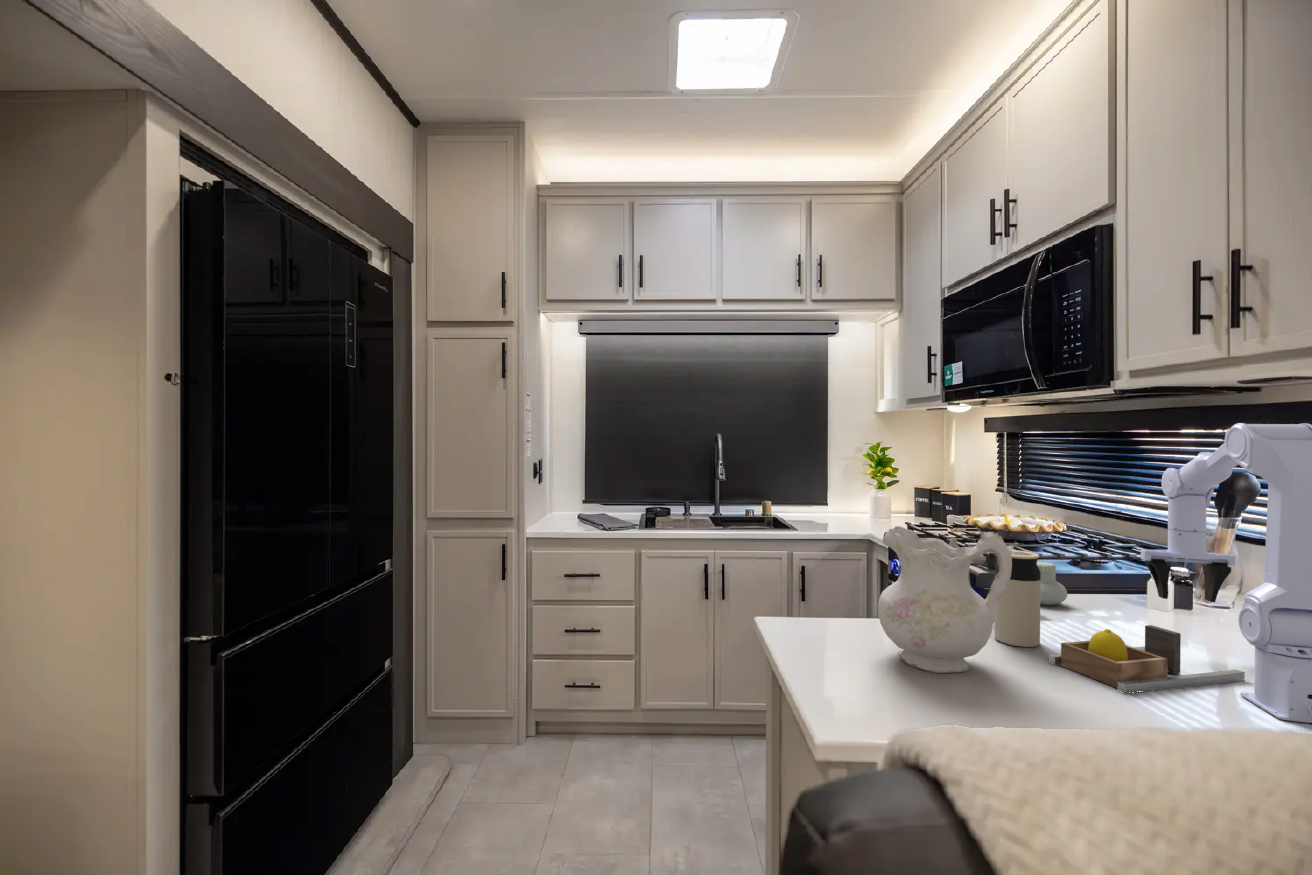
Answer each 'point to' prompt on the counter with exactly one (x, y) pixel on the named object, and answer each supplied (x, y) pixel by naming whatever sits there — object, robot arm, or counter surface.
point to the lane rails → (1171, 679)
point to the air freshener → (1050, 585)
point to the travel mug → (1020, 603)
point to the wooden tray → (1139, 664)
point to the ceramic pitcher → (940, 600)
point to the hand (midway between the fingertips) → (1186, 599)
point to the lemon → (1108, 645)
